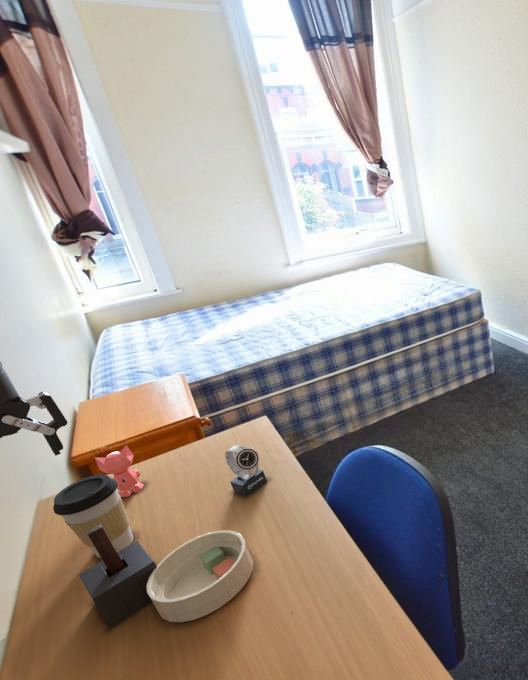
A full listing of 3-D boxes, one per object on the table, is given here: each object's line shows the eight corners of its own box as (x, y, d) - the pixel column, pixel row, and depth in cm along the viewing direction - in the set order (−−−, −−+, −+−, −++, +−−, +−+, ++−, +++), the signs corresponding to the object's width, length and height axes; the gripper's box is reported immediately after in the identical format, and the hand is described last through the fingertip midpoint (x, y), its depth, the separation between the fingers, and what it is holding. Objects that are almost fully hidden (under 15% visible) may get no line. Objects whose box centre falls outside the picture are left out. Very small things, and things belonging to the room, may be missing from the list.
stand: (110, 628, 79) (92, 599, 76) (96, 602, 84) (78, 574, 81) (168, 589, 85) (153, 561, 83) (151, 567, 91) (137, 540, 88)
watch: (252, 498, 106) (236, 459, 102) (229, 490, 110) (213, 452, 106) (272, 482, 111) (258, 444, 107) (250, 475, 114) (236, 438, 110)
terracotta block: (224, 588, 84) (218, 576, 83) (217, 580, 86) (211, 568, 84) (241, 576, 86) (236, 564, 85) (234, 568, 88) (228, 557, 86)
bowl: (178, 641, 76) (165, 619, 74) (146, 596, 84) (133, 574, 82) (269, 573, 87) (260, 552, 84) (232, 539, 95) (223, 519, 93)
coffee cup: (134, 521, 103) (105, 466, 97) (151, 539, 97) (121, 482, 91) (78, 552, 96) (43, 495, 90) (93, 574, 90) (56, 514, 84)
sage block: (211, 575, 87) (206, 563, 86) (204, 567, 88) (199, 556, 87) (228, 563, 89) (223, 552, 88) (221, 556, 91) (216, 545, 89)
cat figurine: (146, 478, 117) (126, 438, 112) (152, 489, 113) (131, 448, 108) (111, 493, 113) (89, 452, 108) (116, 506, 108) (93, 464, 103)
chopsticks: (127, 601, 84) (87, 534, 77) (125, 598, 84) (85, 531, 78) (140, 593, 85) (102, 526, 79) (138, 589, 86) (100, 524, 80)
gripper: (-107, 407, 61) (-39, 503, 67) (37, 363, 71) (84, 451, 77) (-109, 393, 65) (-45, 485, 72) (28, 354, 76) (73, 437, 82)
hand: (22, 467), depth 75 cm, fingers open, 8 cm apart
